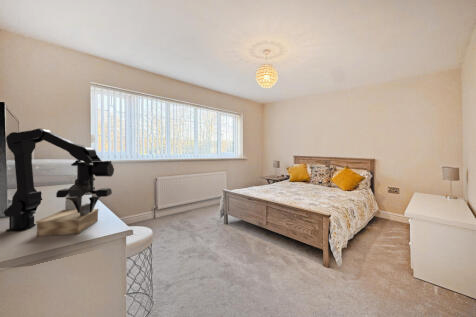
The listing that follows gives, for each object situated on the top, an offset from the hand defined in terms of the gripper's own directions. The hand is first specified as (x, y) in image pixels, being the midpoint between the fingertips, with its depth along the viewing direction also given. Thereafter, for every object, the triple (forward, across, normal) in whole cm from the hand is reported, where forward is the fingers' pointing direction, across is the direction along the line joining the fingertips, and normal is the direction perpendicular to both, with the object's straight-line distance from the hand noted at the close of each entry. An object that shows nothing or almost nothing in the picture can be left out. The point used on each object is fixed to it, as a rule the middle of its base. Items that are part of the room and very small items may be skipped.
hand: (85, 212), depth 89 cm
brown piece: (+6, -6, 0) cm, 8 cm away
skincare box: (+6, -10, +12) cm, 17 cm away
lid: (+1, -6, 0) cm, 6 cm away
